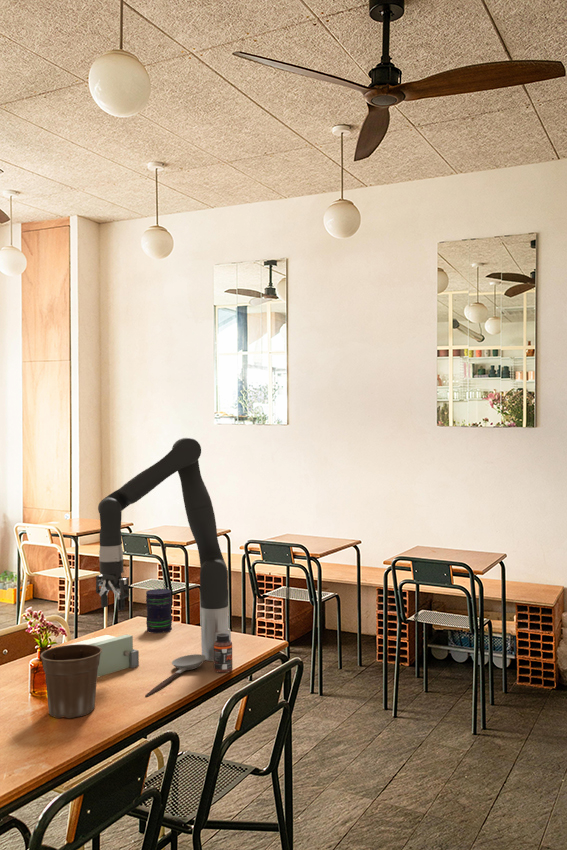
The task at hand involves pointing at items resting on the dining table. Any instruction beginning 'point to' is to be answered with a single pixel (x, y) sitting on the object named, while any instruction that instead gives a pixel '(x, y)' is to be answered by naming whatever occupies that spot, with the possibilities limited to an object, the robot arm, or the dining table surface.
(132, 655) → the cabinet
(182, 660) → the spoon
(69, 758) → the dining table surface
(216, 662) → the supplement bottle
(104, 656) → the door
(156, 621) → the dark blue barrel
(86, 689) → the plant pot
